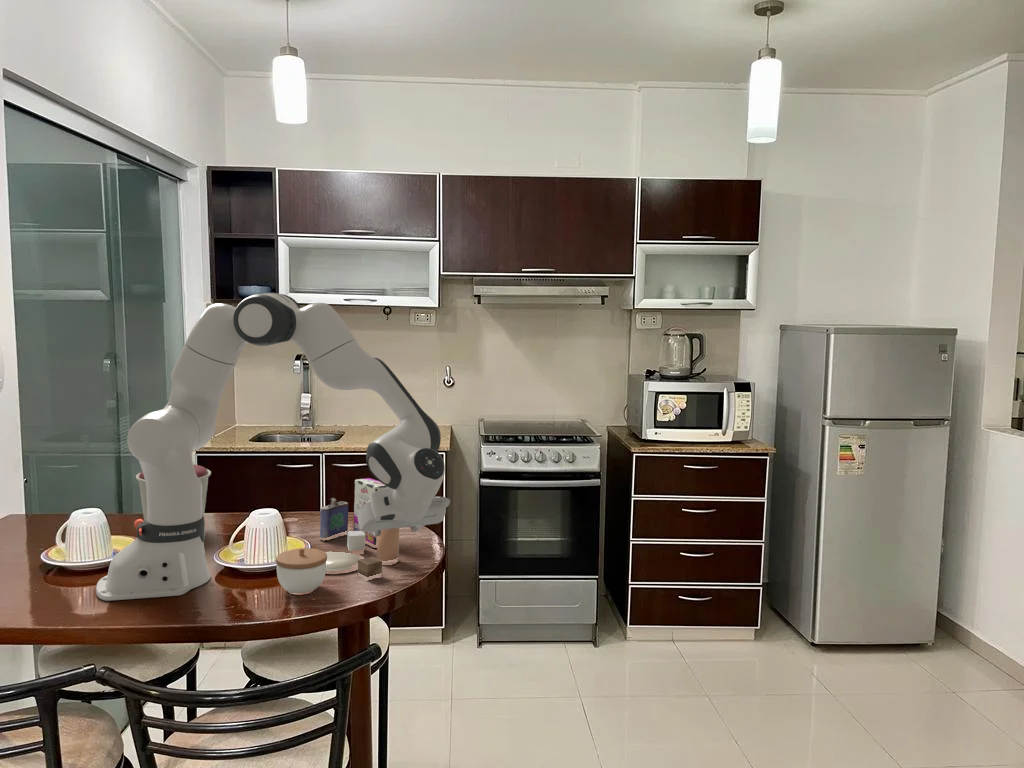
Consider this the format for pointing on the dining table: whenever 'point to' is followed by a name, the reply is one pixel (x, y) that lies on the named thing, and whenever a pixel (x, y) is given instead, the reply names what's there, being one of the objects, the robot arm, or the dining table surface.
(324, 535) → the flask
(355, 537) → the grey block
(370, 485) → the candy bar box
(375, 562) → the walnut block
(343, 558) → the cream plate
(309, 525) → the dining table surface
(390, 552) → the tan cylinder
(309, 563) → the lidded jar
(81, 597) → the dining table surface
